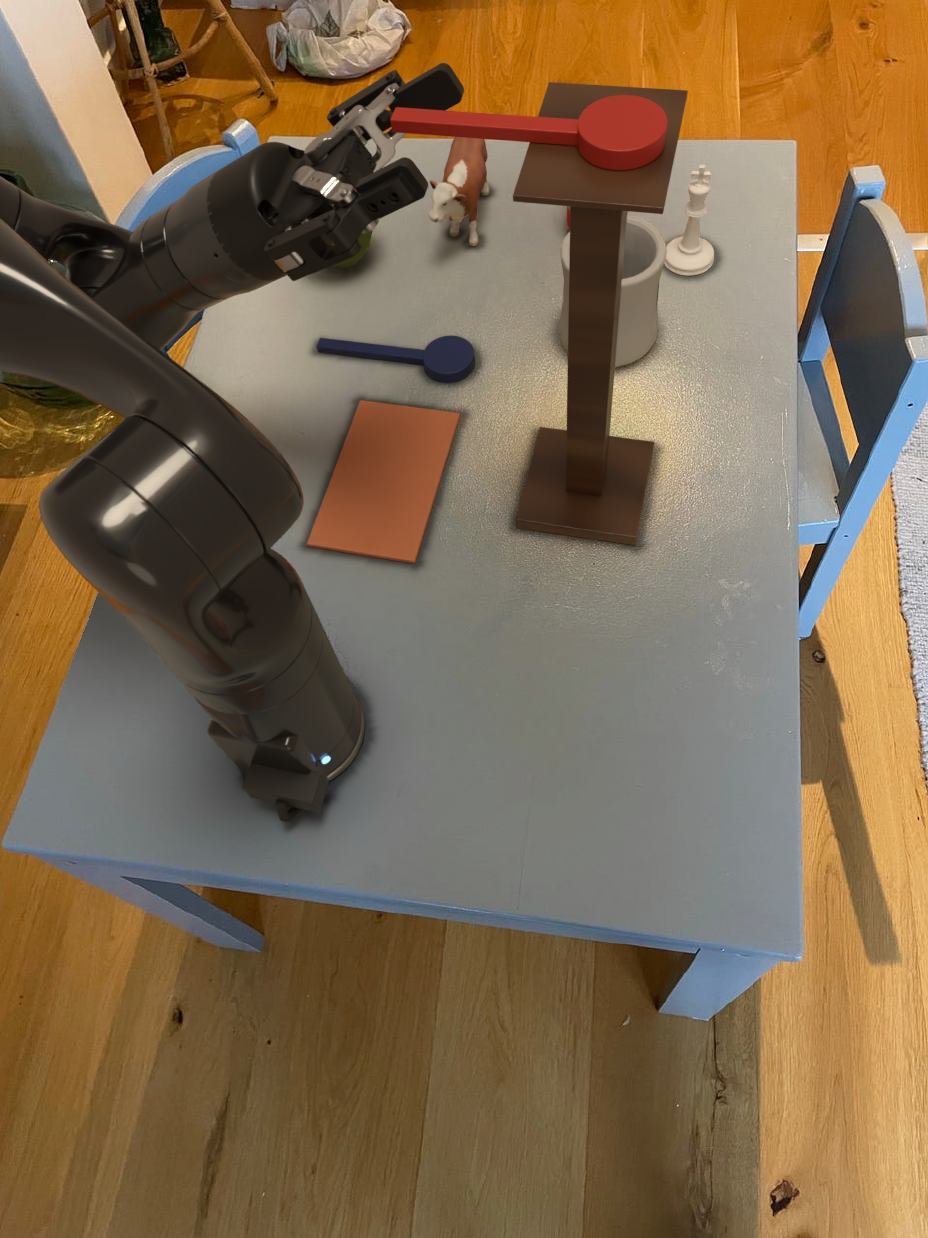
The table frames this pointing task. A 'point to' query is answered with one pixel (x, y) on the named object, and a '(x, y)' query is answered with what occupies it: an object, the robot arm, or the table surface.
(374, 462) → the terracotta mat
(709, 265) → the chess piece
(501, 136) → the red spoon
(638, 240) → the mug
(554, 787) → the table surface
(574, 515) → the spoon stand
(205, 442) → the robot arm
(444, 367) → the navy spoon
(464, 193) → the bull figurine
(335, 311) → the table surface
